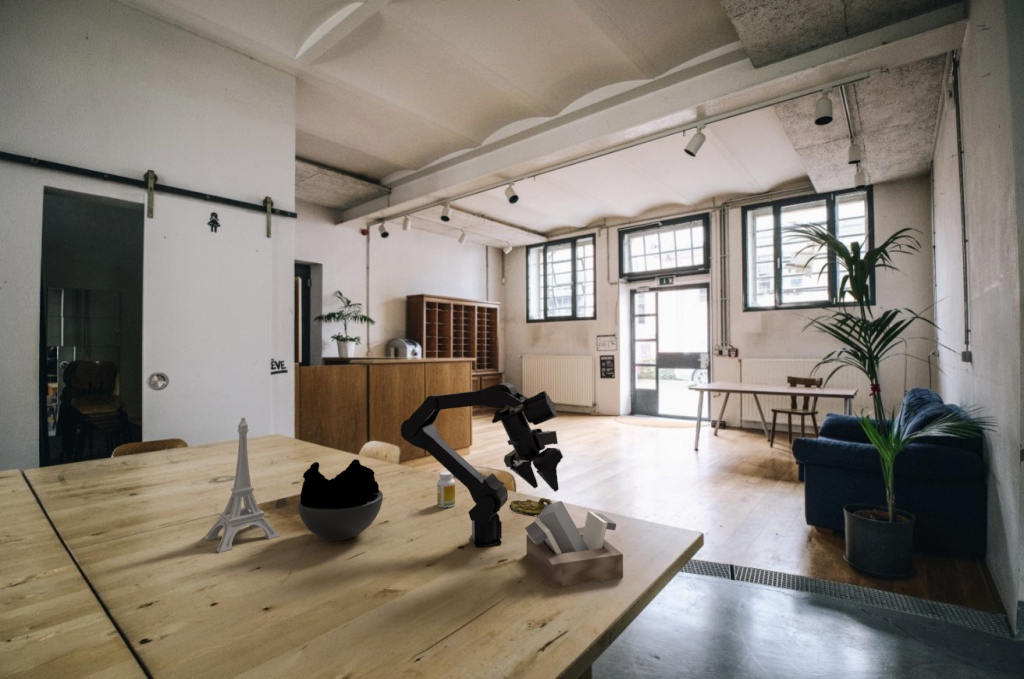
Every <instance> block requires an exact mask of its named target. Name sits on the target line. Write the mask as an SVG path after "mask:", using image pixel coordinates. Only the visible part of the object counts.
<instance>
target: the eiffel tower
mask: <svg viewBox="0 0 1024 679" xmlns="http://www.w3.org/2000/svg"><path fill="white" fill-rule="evenodd" d="M237 427H238V428H237V431H236V432H238V447H237V448H238V449H237V450H238V451H237V461H236V467H235V468H236V470H235V476H234V482H233V487H231V488H230V491H231V494H230V497H229V500H228V502H227V504H226V507H225V508H224V510H223V512H219V518H218V519H217V521H215V523H214V524H213V525H212V526H211V528H210V529H209V530H208V532H207V533H206V534H205V536H203V538H204V540H206V541H209V540H215V539H217V538H220V536H219V533H220V532H221V530H222V529H223V532H222V536H221V540H220V541H219V545H218V546H217V548H216V551H217V552H218V553H219V554H220V553H225V552H228V551H231V550H232V551H233V549H234V548H233V547H232V545H233V544H232V543H233V540H234V538H235V536H236V535H237V533H238V532H239V531H240V529H243V528H244V527H247V526H250V527H251V528H252V529H257V528H261V529H262V530H263V531H264V534H265V535H264V538H266V539H267V540H272V539H276V538H279V537H281V535H280V534H279V533H278V532H277V530H275V529H274V527H273V526H272V524H270V522H269V521H268V519H266V517H265V514H266V513H265V512H264V511H263V510H261V508H259V505H258V503H257V500H256V498H255V496H254V493H253V491H254V487H253V486H252V484H251V477H250V469H249V458H248V455H249V454H248V438H247V437H248V436H247V435H248V432H249V427H248V423H247V422H246V417H240V422H239V423H238V425H237ZM242 500H243V501H242ZM242 502H243V506H244V507H242Z"/></svg>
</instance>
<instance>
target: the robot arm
mask: <svg viewBox="0 0 1024 679" xmlns="http://www.w3.org/2000/svg"><path fill="white" fill-rule="evenodd" d="M521 405H522V406H521ZM476 406H479V407H485V408H494V409H495V408H496V410H495V411H494V414H493V417H492V418H493V419H492V420H491V423H492V424H495V423H498V422H501V424H502V426H503V428H504V430H505V432H506V435H507V437H508V438H509V439H508V440H506V442H507V444H508V445H509V446H512V447H513V449H512V450H511V451H509V452H508V453H507V454H505V455H504V457H503V463H504V464H505V466H506V468H509V469H510V470H511V471H512V472H514V473H515V474H516V475H518V477H520V478H521V479H522V480H524V481H525V482H526V483H527V484H529V485H530V486H531V487H532V488H533V489H537V488H539V487H538V486H539V485H538V482H537V481H538V480H537V478H536V475H535V472H534V469H533V467H532V464H533V466H534V468H535V469H536V473H537V474H538V475H539V476H540V477H541V478H542V480H543V481H544V482H545V483H546V484H547V485H548V486H549V487H550V489H551V490H552V491H554V492H557V491H559V482H558V471H557V469H558V468H557V467H558V465H559V464H560V463H561V461H562V459H563V458H564V455H563V453H562V451H561V449H560V448H556V447H546V446H549V445H558V444H559V443H558V436H557V435H558V434H557V430H546V431H545V430H542V428H533V429H531V426H530V424H533V425H534V426H537V425H539V424H542V423H544V422H547V421H549V420H552V419H555V418H557V417H558V413H557V408H556V406H555V403H554V401H552V398H551V397H550V396H549V395H548V393H547V391H546V390H543V391H541V392H537V394H536V395H534V396H531V397H527V396H525V395H524V394H522V393H521V392H519V391H517V388H516V386H514V384H512V382H503V383H502V382H501V383H497V384H494V385H490V386H488V387H484V388H482V389H478V390H471V391H470V390H469V391H462V392H454V393H445V394H437V393H436V394H433V395H428V396H427V397H426V398H425V400H424V401H423V402H422V404H420V406H419V407H418V408H417V409H416V410H415V411H414V412H413V413H412V414H411V416H410V417H409V418H408V419H405V420H404V421H403V422H402V423H401V425H400V436H401V437H402V439H403V440H404V441H406V442H407V443H409V444H410V445H412V446H414V447H416V448H418V449H421V450H423V451H426V452H427V453H429V455H431V457H433V458H434V459H435V460H436V461H437V462H438V463H439V464H440V465H442V466H443V467H444V468H445V469H446V470H447V472H450V473H451V474H453V477H454V478H456V479H457V480H458V481H459V482H460V483H461V484H462V485H463V486H465V487H466V489H467V490H468V491H469V495H470V496H471V498H472V500H473V502H474V506H473V507H472V508H470V509H469V511H468V515H469V518H470V520H471V535H470V536H469V537H470V540H471V542H472V544H473V545H474V547H475V548H480V547H488V546H495V545H502V540H501V539H502V537H503V536H502V534H503V532H502V531H503V529H502V526H503V524H502V521H501V520H500V515H499V514H498V513H499V511H501V508H502V507H503V506H504V505H505V504H506V503H507V501H508V497H509V494H508V489H507V488H506V487H505V482H503V481H501V480H500V479H499V478H498V477H497V476H496V474H494V473H493V472H491V473H490V474H489V475H484V474H481V473H480V472H479V471H478V470H477V469H476V468H475V467H473V465H472V464H470V463H469V462H468V461H467V460H466V459H465V458H463V456H461V455H460V454H459V453H458V452H457V451H456V450H454V448H452V447H451V446H450V445H449V444H448V443H447V442H446V441H445V440H444V439H442V438H441V436H440V434H439V431H438V430H437V426H435V424H434V423H435V422H436V420H437V418H438V417H439V414H440V412H441V410H451V409H458V408H459V409H460V408H467V407H476ZM518 406H520V407H518ZM506 407H509V408H507V409H504V410H499V409H503V408H506Z"/></svg>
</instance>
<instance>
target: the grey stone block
mask: <svg viewBox="0 0 1024 679" xmlns="http://www.w3.org/2000/svg"><path fill="white" fill-rule="evenodd" d="M537 518H538V519H539V520H540V521H541V522H542V523H543V524H544V525H545V526H546V527H547V528H548V529H549V530H550V532H551V534H552V536H553V537H554V539H555V541H556V543H557V545H558V547H559V549H560V551H561V553H562V554H563V553H571V552H578V551H585V550H588V547H587V546H586V544H585V542H584V540H583V538H582V537H581V535H580V533H579V531H578V529H577V528H578V527H577V526H576V524H575V522H574V520H573V519H572V517H571V515H570V513H569V512H568V510H567V508H566V507H565V505H564V502H563V501H562V500H560V501H557V502H554V503H553V502H552V504H550V505H547V504H546V506H545V508H544V509H543V510H542V512H541V513H540V514H539V516H537Z"/></svg>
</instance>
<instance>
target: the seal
mask: <svg viewBox="0 0 1024 679" xmlns="http://www.w3.org/2000/svg"><path fill="white" fill-rule="evenodd" d="M550 504H553V501H552V500H551V499H550V498H549V499H548V498H545V497H544V498H543V497H541V498H540V499H539V500H538V501H537V500H536V501H535V500H531V499H526V500H520V499H519V500H512V501H510V509H511V508H512V509H513V510H514V511H513V510H512V509H511V510H512V511H513V512H515V511H516V512H515V513H518V512H519V514H521V513H523V514H522V515H526V514H528V515H527V516H533V515H539V514H540V513H541V512H542V510H543V509H544V508H545V506H546V505H550Z"/></svg>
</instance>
